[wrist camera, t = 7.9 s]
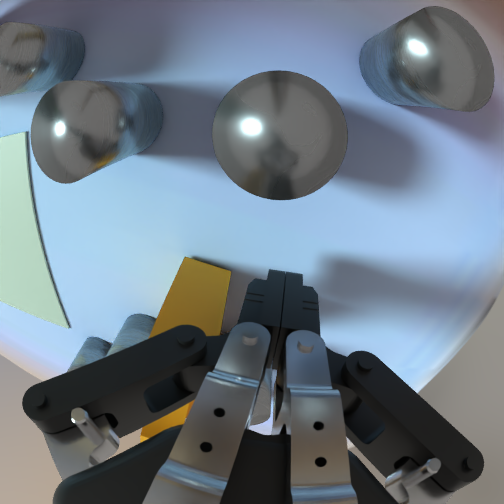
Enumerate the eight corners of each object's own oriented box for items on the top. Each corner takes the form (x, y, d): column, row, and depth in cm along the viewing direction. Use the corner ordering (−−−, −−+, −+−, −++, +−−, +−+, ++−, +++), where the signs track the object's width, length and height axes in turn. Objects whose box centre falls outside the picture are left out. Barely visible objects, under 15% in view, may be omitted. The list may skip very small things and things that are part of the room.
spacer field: (44, 40, 8) (-18, 38, 4) (429, 50, 8) (493, 38, 4) (92, 358, 21) (70, 400, 17) (318, 398, 21) (322, 448, 16)
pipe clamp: (211, 390, 21) (200, 459, 15) (160, 375, 20) (140, 443, 14) (262, 280, 15) (260, 381, 9) (184, 256, 14) (143, 349, 9)
